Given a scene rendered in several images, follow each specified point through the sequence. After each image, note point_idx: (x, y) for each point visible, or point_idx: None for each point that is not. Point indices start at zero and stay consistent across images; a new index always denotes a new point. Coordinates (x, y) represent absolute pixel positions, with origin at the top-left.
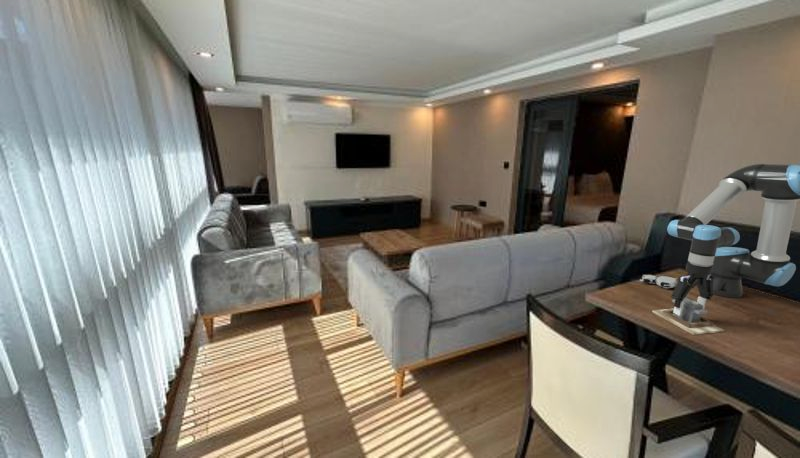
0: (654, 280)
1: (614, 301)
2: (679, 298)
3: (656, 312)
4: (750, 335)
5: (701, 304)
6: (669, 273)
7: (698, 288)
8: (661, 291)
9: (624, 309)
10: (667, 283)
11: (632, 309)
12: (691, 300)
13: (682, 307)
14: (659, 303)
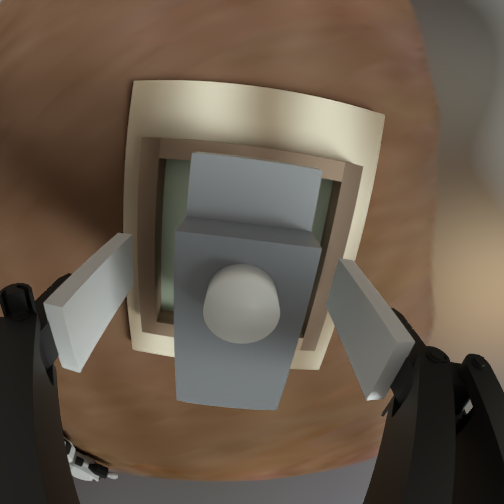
0: (77, 463)
1: (359, 433)
2: (469, 370)
3: (323, 351)
4: (52, 44)
5: (100, 288)
6: None
7: (70, 475)
8: (84, 429)
9: None
10: None
11: None
12: (181, 358)
13: (372, 298)
14: (179, 401)
